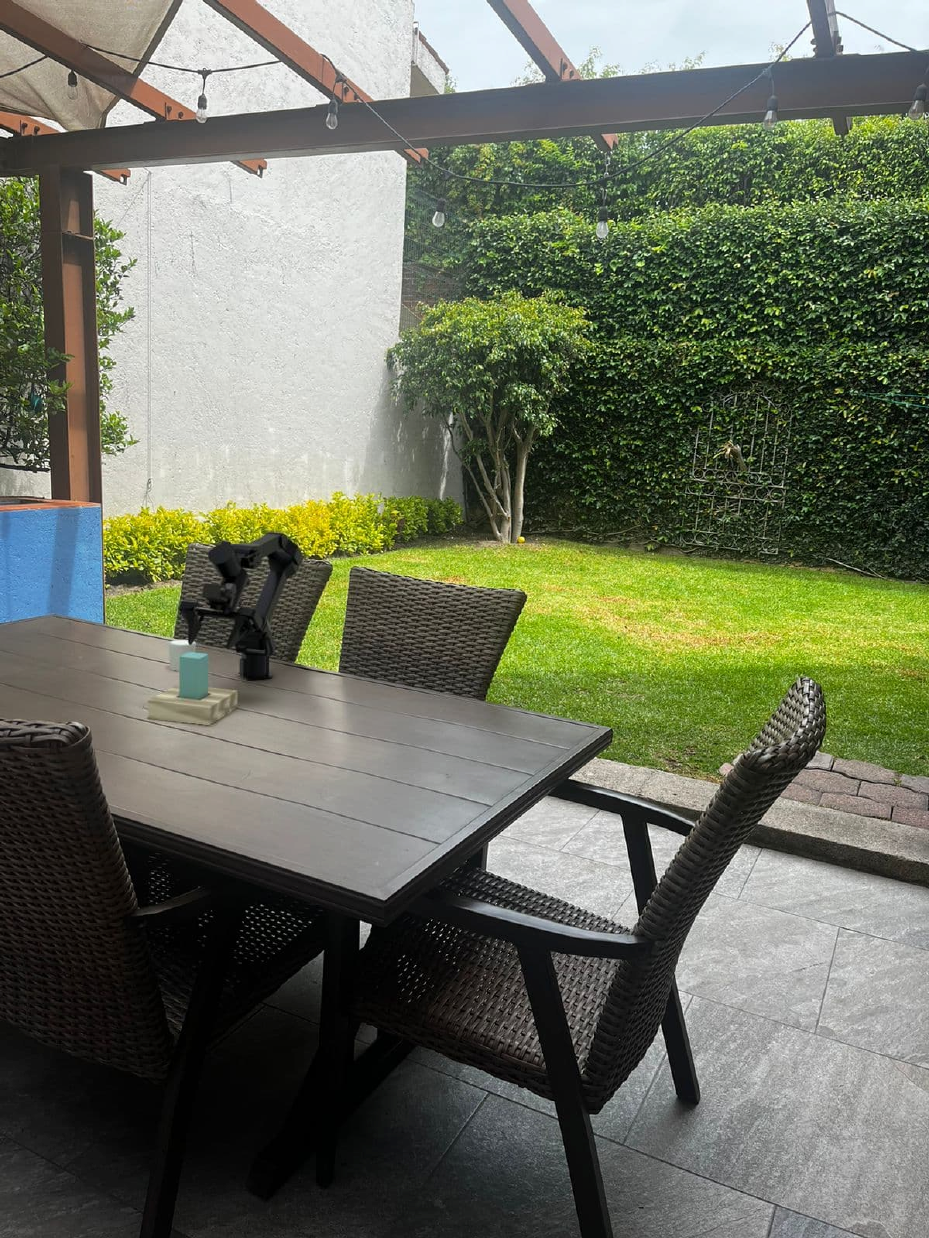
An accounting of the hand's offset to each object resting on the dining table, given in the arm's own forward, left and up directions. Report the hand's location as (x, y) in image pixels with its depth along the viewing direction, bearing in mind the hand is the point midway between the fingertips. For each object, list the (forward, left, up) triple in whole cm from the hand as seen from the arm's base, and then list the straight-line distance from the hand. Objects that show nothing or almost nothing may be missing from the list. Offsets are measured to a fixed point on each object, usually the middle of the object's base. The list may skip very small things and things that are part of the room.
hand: (208, 646), depth 206 cm
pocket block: (+5, +6, -13) cm, 15 cm away
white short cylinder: (-5, -31, -13) cm, 34 cm away
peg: (+5, +6, -13) cm, 16 cm away
